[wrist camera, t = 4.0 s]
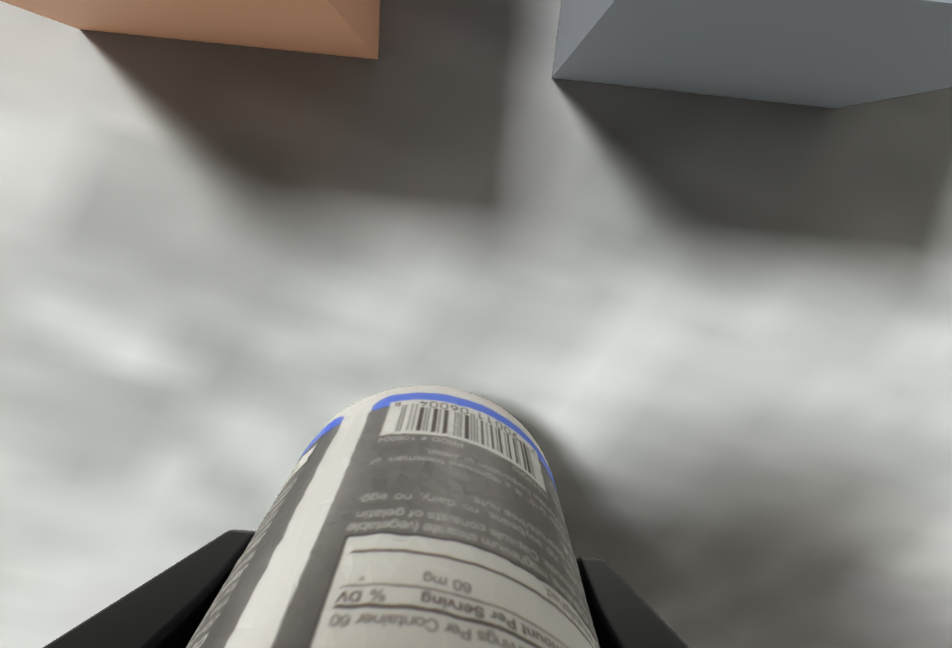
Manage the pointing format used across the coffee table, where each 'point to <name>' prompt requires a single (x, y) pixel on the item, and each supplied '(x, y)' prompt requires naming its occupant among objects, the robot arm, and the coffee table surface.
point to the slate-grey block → (760, 47)
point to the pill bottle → (409, 538)
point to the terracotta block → (230, 21)
